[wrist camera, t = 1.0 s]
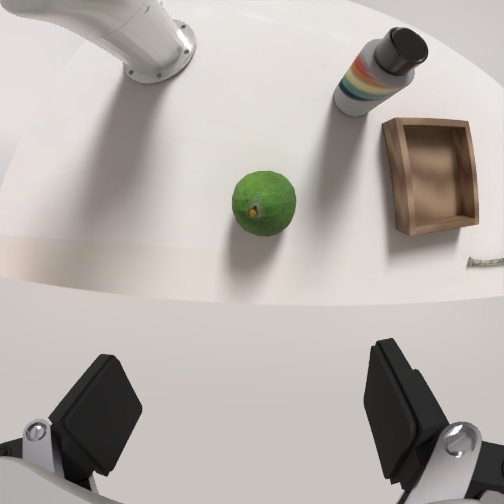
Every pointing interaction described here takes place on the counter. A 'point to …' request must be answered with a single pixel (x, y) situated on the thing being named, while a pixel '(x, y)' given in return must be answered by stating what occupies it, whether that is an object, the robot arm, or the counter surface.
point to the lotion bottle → (380, 71)
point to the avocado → (264, 203)
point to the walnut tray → (432, 174)
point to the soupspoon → (475, 262)
